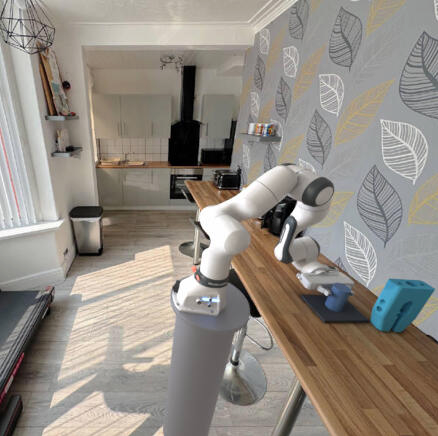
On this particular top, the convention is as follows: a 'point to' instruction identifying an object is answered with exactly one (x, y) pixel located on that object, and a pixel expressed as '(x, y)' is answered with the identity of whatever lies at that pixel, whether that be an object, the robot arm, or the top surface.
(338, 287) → the cylinder block
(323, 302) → the mat
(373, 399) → the top surface
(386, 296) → the block
